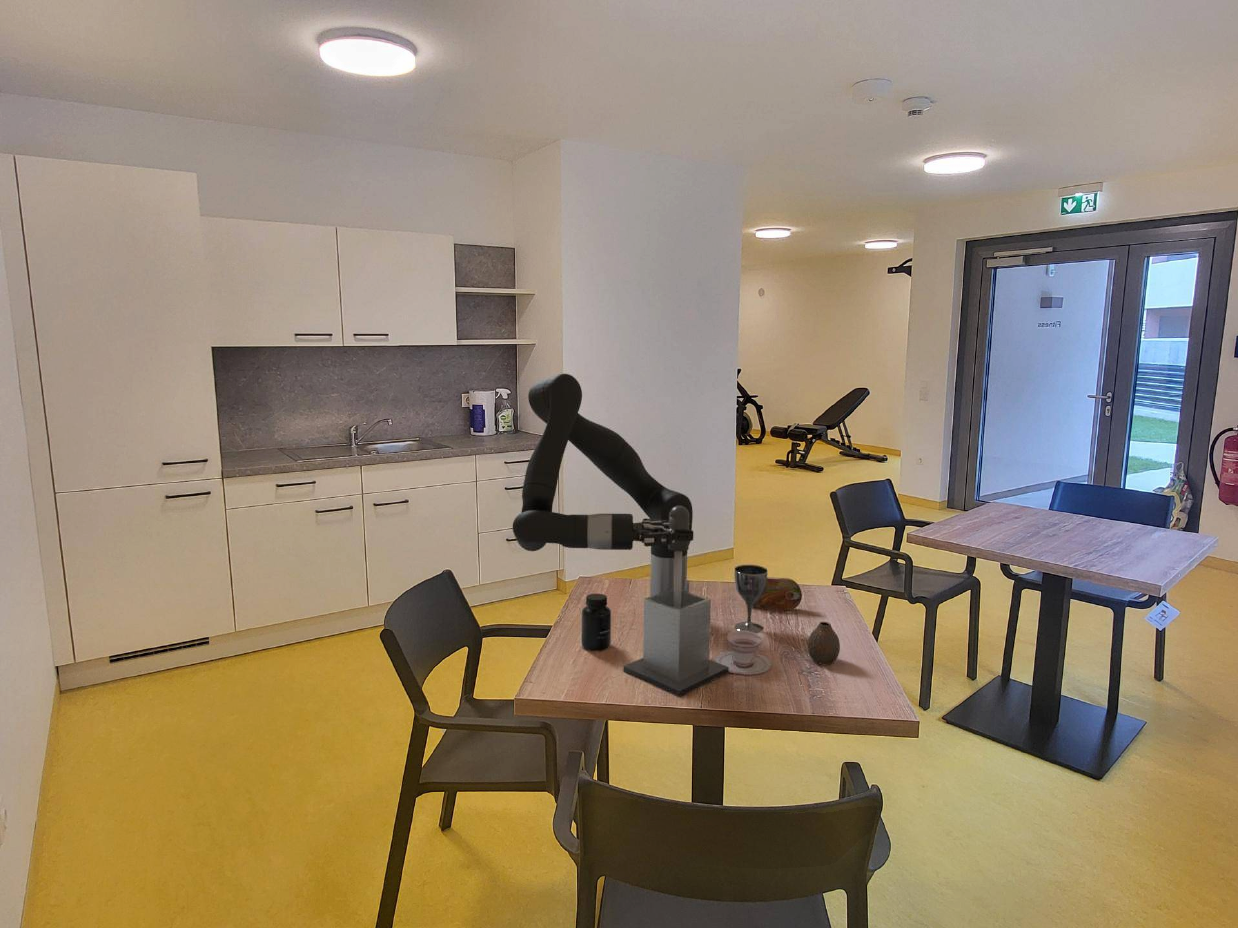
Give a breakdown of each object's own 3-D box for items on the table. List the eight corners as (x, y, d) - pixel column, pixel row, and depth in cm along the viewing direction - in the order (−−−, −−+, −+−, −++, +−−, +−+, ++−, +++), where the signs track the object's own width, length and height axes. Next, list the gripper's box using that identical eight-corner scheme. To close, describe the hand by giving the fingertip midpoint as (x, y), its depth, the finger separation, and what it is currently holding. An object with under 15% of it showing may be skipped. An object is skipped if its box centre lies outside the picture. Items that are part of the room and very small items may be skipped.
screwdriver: (675, 610, 166) (677, 500, 161) (702, 620, 160) (706, 506, 156) (651, 619, 160) (652, 505, 156) (678, 630, 155) (681, 512, 151)
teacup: (766, 679, 159) (767, 652, 158) (710, 671, 163) (711, 644, 162) (773, 657, 170) (774, 631, 169) (720, 649, 174) (721, 624, 173)
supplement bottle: (607, 653, 172) (607, 602, 170) (578, 650, 173) (578, 600, 171) (613, 641, 178) (613, 592, 176) (585, 638, 180) (585, 590, 178)
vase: (839, 656, 170) (842, 620, 169) (838, 669, 164) (840, 631, 162) (808, 652, 173) (810, 616, 171) (805, 664, 166) (807, 627, 165)
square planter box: (672, 650, 173) (674, 581, 171) (728, 672, 162) (730, 599, 159) (623, 671, 162) (623, 598, 159) (679, 696, 151) (681, 618, 148)
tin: (743, 607, 201) (744, 577, 200) (743, 603, 204) (745, 573, 203) (801, 612, 198) (802, 581, 196) (801, 608, 201) (802, 577, 199)
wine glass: (729, 630, 185) (731, 572, 182) (736, 619, 192) (738, 563, 190) (761, 635, 182) (763, 576, 180) (767, 624, 189) (770, 566, 187)
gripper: (609, 522, 149) (695, 523, 149) (610, 506, 163) (689, 506, 163) (609, 558, 151) (695, 559, 151) (610, 539, 165) (689, 540, 165)
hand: (691, 532), depth 157 cm, fingers closed on screwdriver, 4 cm apart
